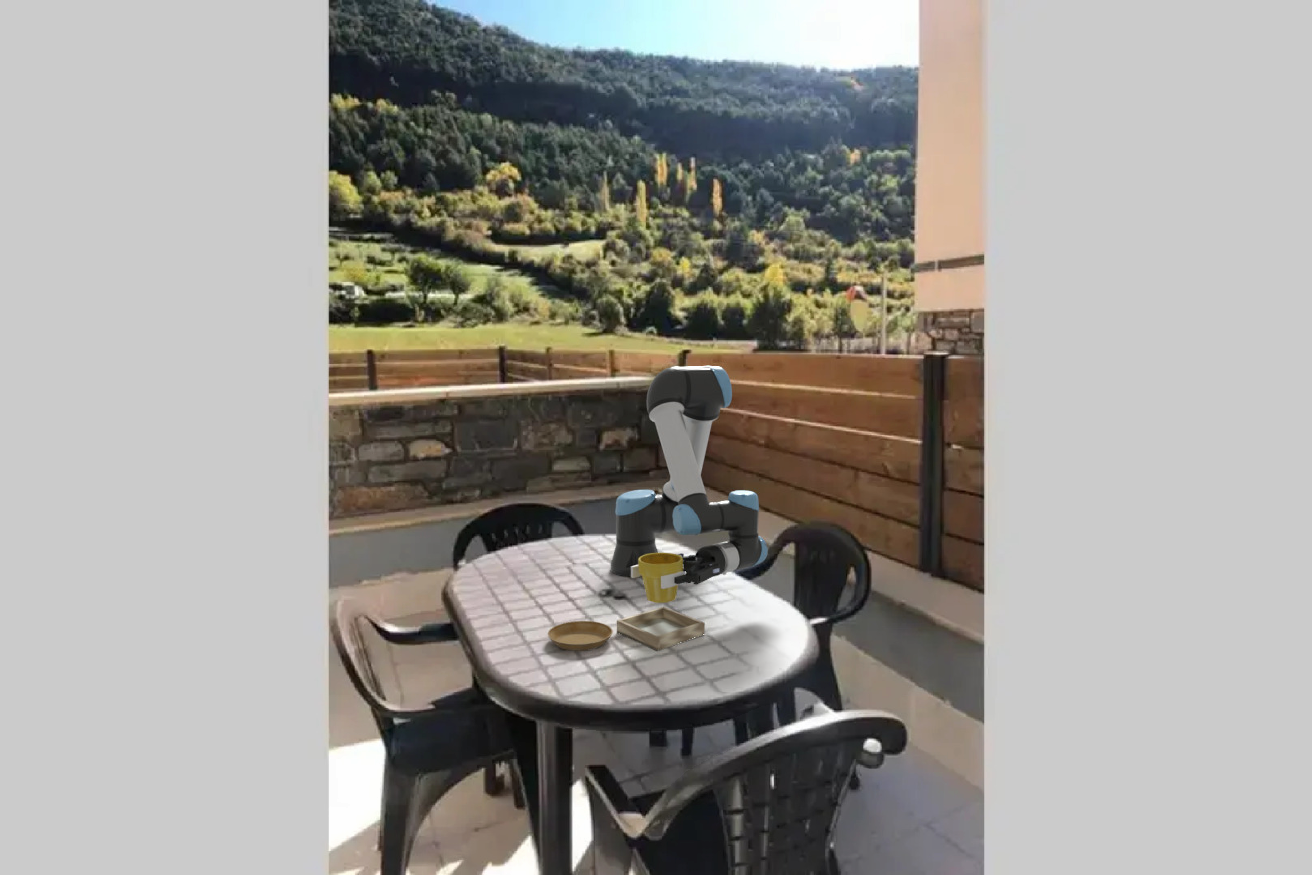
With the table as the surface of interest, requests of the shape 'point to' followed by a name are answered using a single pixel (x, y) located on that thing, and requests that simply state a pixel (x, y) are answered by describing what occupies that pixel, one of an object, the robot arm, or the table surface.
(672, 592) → the plant pot
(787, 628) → the table surface
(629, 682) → the table surface
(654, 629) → the tray
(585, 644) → the plant saucer
